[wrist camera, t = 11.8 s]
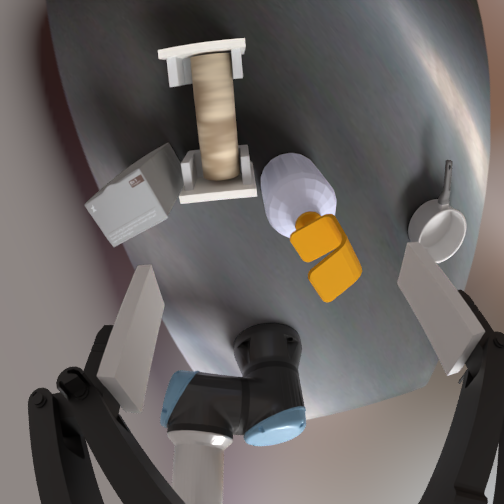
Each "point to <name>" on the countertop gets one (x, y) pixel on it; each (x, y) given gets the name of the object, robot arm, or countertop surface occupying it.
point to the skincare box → (138, 196)
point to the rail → (215, 115)
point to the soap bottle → (309, 221)
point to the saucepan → (438, 224)
